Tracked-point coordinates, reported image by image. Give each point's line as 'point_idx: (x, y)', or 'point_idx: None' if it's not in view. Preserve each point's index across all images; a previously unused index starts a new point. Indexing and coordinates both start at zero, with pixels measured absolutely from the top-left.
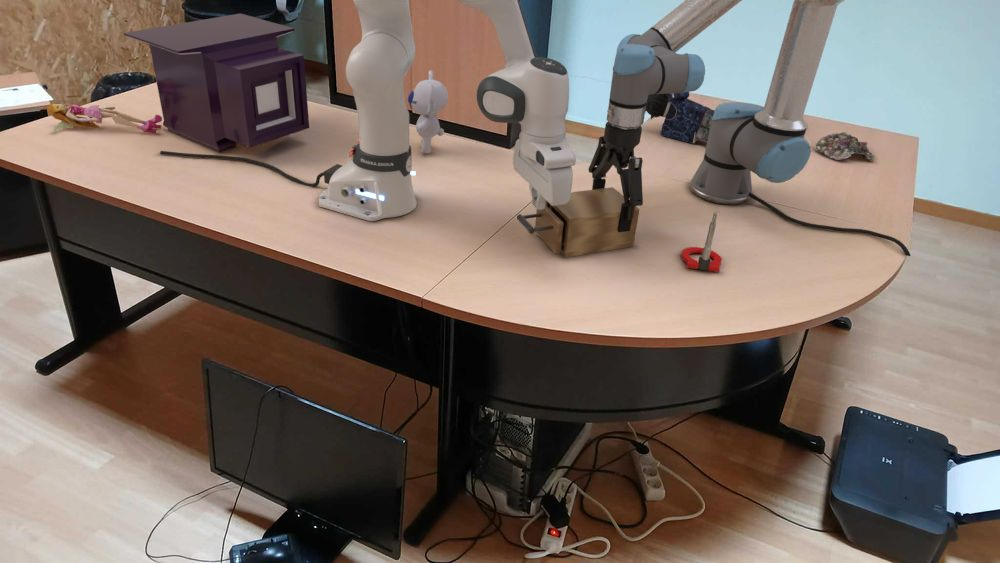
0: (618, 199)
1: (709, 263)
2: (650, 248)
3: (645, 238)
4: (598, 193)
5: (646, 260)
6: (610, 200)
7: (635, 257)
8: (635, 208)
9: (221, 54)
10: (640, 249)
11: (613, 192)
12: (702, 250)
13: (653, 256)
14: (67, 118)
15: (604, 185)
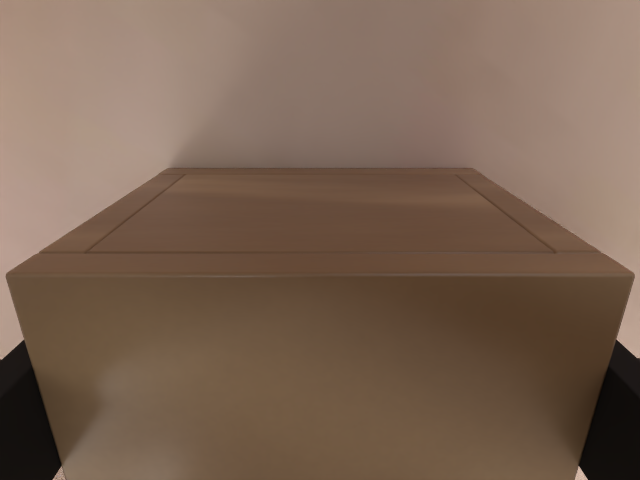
0: (336, 367)
1: None
2: (535, 73)
3: (415, 28)
4: (160, 471)
5: (629, 178)
6: (334, 443)
7: (573, 218)
8: (596, 308)
9: None
10: (516, 143)
11: (155, 333)
12: None
13: (618, 112)
14: None
15: (12, 396)
